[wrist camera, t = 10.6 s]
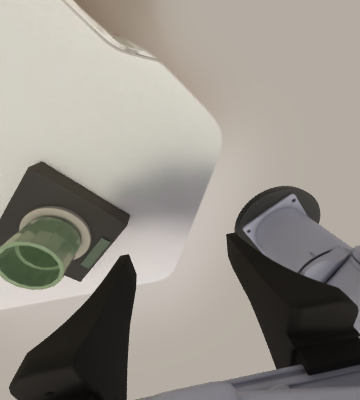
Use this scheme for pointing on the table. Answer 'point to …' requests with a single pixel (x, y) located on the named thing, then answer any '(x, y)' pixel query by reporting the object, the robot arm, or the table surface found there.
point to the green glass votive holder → (39, 253)
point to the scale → (64, 214)
